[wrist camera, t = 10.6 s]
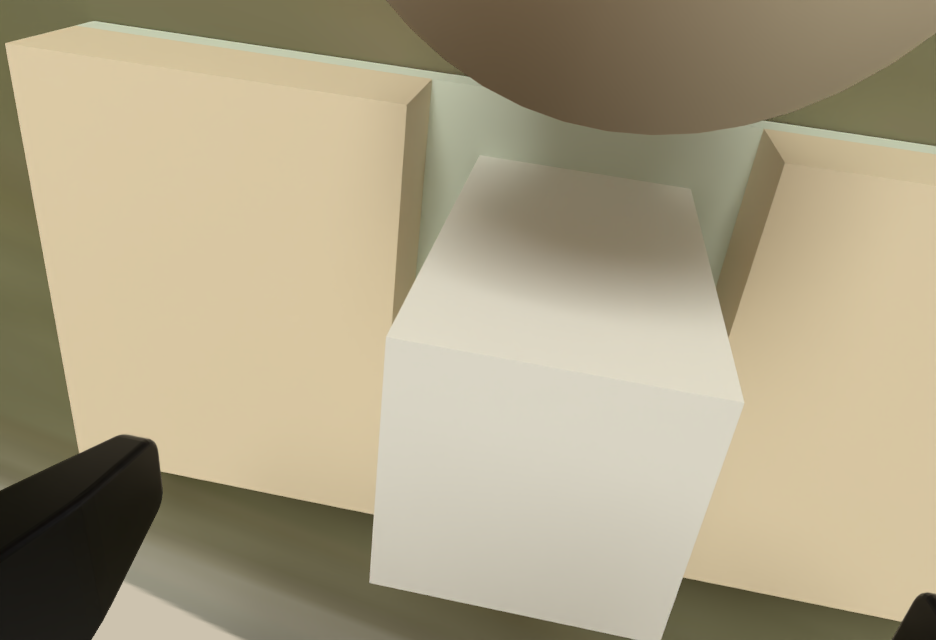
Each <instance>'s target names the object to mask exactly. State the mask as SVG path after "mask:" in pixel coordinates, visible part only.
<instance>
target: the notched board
mask: <svg viewBox="0 0 936 640" xmlns="http://www.w3.org/2000/svg"><path fill="white" fill-rule="evenodd" d="M5 46H6V51H7V57H8V62H9V68H10V73H11V79H12V84H13V90H14V95H15V101H16V106H17V112H18V117H19V123H20V129H21V134H22V140H23V145H24V151H25V156H26V162H27V167H28V173H29V178H30V184H31V189H32V195H33V200H34V206H35V211H36V217H37V222H38V228H39V233H40V239H41V244H42V250H43V255H44V261H45V267H46V272H47V278H48V283H49V289H50V294H51V300H52V305H53V311H54V316H55V322H56V327H57V333H58V338H59V344H60V349H61V355H62V360H63V366H64V371H65V377H66V382H67V388H68V393H69V399H70V404H71V410H72V416H73V421H74V427H75V432H76V438H77V443H78V449H79V453H81V452H83V451H85V450H87V449H89V448H92V447H94V446H96V445H98V444H100V443H102V442H104V441H106V440H109V439H111V438H113V437H115V436H118V435H121V434H128V435H133V436H138V437H143V438H148V439H151V440H153V441H154V442H155V443H156V445H157V448H158V453H159V461H160V470H161V472H166V473H171V474H176V475H181V476H186V477H191V478H196V479H201V480H206V481H211V482H216V483H221V484H225V485H230V486H235V487H240V488H245V489H250V490H255V491H260V492H265V493H270V494H275V495H280V496H285V497H290V498H294V499H299V500H304V501H309V502H314V503H319V504H324V505H329V506H334V507H339V508H344V509H349V510H354V511H359V512H363V513H368V514H373V515H374V507H375V492H376V477H377V462H378V447H379V432H380V417H381V402H382V387H383V372H384V358H385V343H386V336H387V334H388V332H389V330H390V328H391V326H392V324H393V322H394V320H395V318H396V316H397V315H398V313H399V311H400V309H401V307H402V305H403V303H404V301H405V299H406V297H407V295H408V293H409V291H410V289H411V287H412V285H413V283H414V282H415V280H416V278H417V276H418V274H419V272H420V270H421V268H422V266H423V264H424V262H425V260H426V258H427V256H428V254H429V252H430V251H431V249H432V247H433V245H434V243H435V241H436V239H437V237H438V235H439V233H440V231H441V229H442V227H443V225H444V223H445V221H446V219H447V218H448V216H449V214H450V212H451V210H452V208H453V206H454V204H455V202H456V200H457V198H458V196H459V194H460V192H461V190H462V188H463V186H464V185H465V183H466V181H467V179H468V177H469V175H470V173H471V171H472V169H473V167H474V165H475V163H476V161H477V159H478V157H479V155H483V156H489V157H495V158H501V159H508V160H514V161H520V162H526V163H533V164H539V165H545V166H551V167H558V168H564V169H570V170H576V171H583V172H589V173H595V174H601V175H608V176H614V177H620V178H626V179H633V180H639V181H645V182H651V183H658V184H664V185H670V186H676V187H683V188H689V189H691V192H692V196H693V199H694V203H695V207H696V211H697V215H698V219H699V223H700V227H701V231H702V235H703V239H704V243H705V247H706V251H707V255H708V259H709V263H710V267H711V271H712V275H713V279H714V283H715V287H716V291H717V295H718V299H719V303H720V307H721V311H722V315H723V319H724V323H725V327H726V331H727V335H728V339H729V343H730V347H731V351H732V355H733V359H734V363H735V367H736V371H737V375H738V379H739V383H740V387H741V391H742V395H743V399H744V406H743V409H742V412H741V414H740V417H739V420H738V423H737V426H736V428H735V431H734V434H733V437H732V440H731V443H730V445H729V448H728V451H727V454H726V457H725V460H724V462H723V465H722V468H721V471H720V474H719V477H718V479H717V482H716V485H715V488H714V491H713V493H712V496H711V499H710V502H709V505H708V508H707V510H706V513H705V516H704V519H703V522H702V525H701V527H700V530H699V533H698V536H697V539H696V542H695V544H694V547H693V550H692V553H691V556H690V558H689V561H688V564H687V567H686V570H685V573H684V575H683V577H684V578H689V579H694V580H699V581H704V582H708V583H713V584H718V585H723V586H728V587H733V588H738V589H743V590H748V591H753V592H758V593H763V594H768V595H772V596H777V597H782V598H787V599H792V600H797V601H802V602H807V603H812V604H817V605H822V606H827V607H832V608H837V609H841V610H846V611H851V612H856V613H861V614H866V615H871V616H876V617H881V618H886V619H891V620H896V621H901V622H902V620H903V619H904V617H905V615H906V613H907V611H908V610H909V608H910V606H911V604H912V603H913V601H914V600H915V598H916V597H917V596H918V595H920V594H921V593H925V592H930V593H935V594H936V146H931V145H924V144H917V143H910V142H904V141H897V140H890V139H884V138H877V137H870V136H863V135H857V134H850V133H843V132H836V131H830V130H823V129H816V128H810V127H803V126H796V125H789V124H783V123H776V122H769V121H759V122H756V123H752V124H749V125H745V126H739V127H733V128H727V129H721V130H715V131H709V132H703V133H692V134H667V135H645V134H633V133H622V132H610V131H604V130H599V129H595V128H590V127H586V126H581V125H576V124H572V123H567V122H563V121H560V120H558V119H555V118H552V117H549V116H547V115H544V114H541V113H538V112H536V111H533V110H530V109H527V108H525V107H522V106H520V105H518V104H516V103H514V102H512V101H510V100H508V99H506V98H505V97H503V96H501V95H499V94H497V93H495V92H493V91H491V90H489V89H487V88H485V87H483V86H482V85H480V84H479V83H477V82H476V81H475V80H473V79H472V78H470V77H467V76H460V75H453V74H446V73H440V72H433V71H426V70H420V69H413V68H406V67H399V66H393V65H386V64H379V63H372V62H366V61H359V60H352V59H346V58H339V57H332V56H325V55H319V54H312V53H305V52H298V51H292V50H285V49H278V48H272V47H265V46H258V45H251V44H245V43H238V42H231V41H225V40H218V39H211V38H204V37H198V36H191V35H184V34H177V33H171V32H164V31H157V30H151V29H144V28H137V27H130V26H124V25H117V24H110V23H103V22H97V21H92V22H88V23H84V24H80V25H76V26H72V27H68V28H64V29H60V30H56V31H52V32H48V33H44V34H40V35H36V36H32V37H28V38H24V39H20V40H16V41H12V42H8V43H5Z"/></svg>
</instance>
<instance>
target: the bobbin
mask: <svg viewBox="0 0 936 640" xmlns="http://www.w3.org/2000/svg"><path fill="white" fill-rule="evenodd" d="M386 1H387V2H388V3H389V4H390V5H391V6H392V8H393V9H394V10H395V11H396V12H397V13H398V15H399V16H400V17H401V18H402V19H403V20H404V22H405V23H406V24H407V25H408V26H409V27H410V28H411V29H412V30H413V31H414V32H415V33H416V34H417V35H418V36H419V37H420V38H421V39H423V40H424V41H425V42H426V43H427V44H428V45H429V46H430V47H431V48H432V49H434V50H435V51H436V52H437V53H438V54H439V55H440V56H441V57H442V58H444V59H445V60H446V61H447V62H449V63H450V64H452V65H453V66H454V67H456V68H457V69H459V70H460V71H462V72H463V73H464V74H466V75H467V76H469V77H470V78H472V79H473V80H475V81H476V82H477V83H479V84H480V85H482V86H483V87H485V88H487V89H489V90H491V91H493V92H495V93H497V94H499V95H501V96H503V97H505V98H506V99H508V100H510V101H512V102H514V103H516V104H518V105H520V106H522V107H525V108H527V109H530V110H533V111H536V112H538V113H541V114H544V115H547V116H549V117H552V118H555V119H558V120H560V121H563V122H567V123H572V124H576V125H581V126H586V127H590V128H595V129H599V130H604V131H610V132H622V133H633V134H645V135H667V134H692V133H703V132H709V131H715V130H721V129H727V128H733V127H739V126H745V125H749V124H752V123H756V122H759V121H763V120H766V119H770V118H773V117H777V116H780V115H783V114H787V113H790V112H794V111H796V110H799V109H801V108H803V107H806V106H808V105H811V104H813V103H815V102H818V101H820V100H823V99H825V98H827V97H830V96H832V95H835V94H837V93H839V92H842V91H844V90H846V89H847V88H849V87H851V86H853V85H855V84H856V83H858V82H860V81H862V80H864V79H865V78H867V77H869V76H871V75H873V74H874V73H876V72H878V71H880V70H882V69H883V68H885V67H887V66H889V65H891V64H892V63H894V62H895V61H897V60H898V59H899V58H901V57H902V56H904V55H905V54H907V53H908V52H909V51H911V50H912V49H914V48H915V47H916V46H918V45H919V44H921V43H922V42H924V41H925V40H926V39H928V38H929V37H931V36H932V35H934V34H935V33H936V0H386Z"/></svg>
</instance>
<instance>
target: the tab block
mask: <svg viewBox="0 0 936 640" xmlns="http://www.w3.org/2000/svg"><path fill="white" fill-rule="evenodd" d="M743 406H744V399H743V395H742V391H741V387H740V383H739V379H738V375H737V371H736V367H735V363H734V359H733V355H732V351H731V347H730V343H729V339H728V335H727V331H726V327H725V323H724V319H723V315H722V311H721V307H720V303H719V299H718V295H717V291H716V287H715V283H714V279H713V275H712V271H711V267H710V263H709V259H708V255H707V251H706V247H705V243H704V239H703V235H702V231H701V227H700V223H699V219H698V215H697V211H696V207H695V203H694V199H693V196H692V192H691V189H689V188H683V187H676V186H670V185H664V184H658V183H651V182H645V181H639V180H633V179H626V178H620V177H614V176H608V175H601V174H595V173H589V172H583V171H576V170H570V169H564V168H558V167H551V166H545V165H539V164H533V163H526V162H520V161H514V160H508V159H501V158H495V157H489V156H483V155H479V157H478V159H477V161H476V163H475V165H474V167H473V169H472V171H471V173H470V175H469V177H468V179H467V181H466V183H465V185H464V186H463V188H462V190H461V192H460V194H459V196H458V198H457V200H456V202H455V204H454V206H453V208H452V210H451V212H450V214H449V216H448V218H447V219H446V221H445V223H444V225H443V227H442V229H441V231H440V233H439V235H438V237H437V239H436V241H435V243H434V245H433V247H432V249H431V251H430V252H429V254H428V256H427V258H426V260H425V262H424V264H423V266H422V268H421V270H420V272H419V274H418V276H417V278H416V280H415V282H414V283H413V285H412V287H411V289H410V291H409V293H408V295H407V297H406V299H405V301H404V303H403V305H402V307H401V309H400V311H399V313H398V315H397V316H396V318H395V320H394V322H393V324H392V326H391V328H390V330H389V332H388V334H387V336H386V343H385V358H384V372H383V387H382V402H381V417H380V432H379V447H378V462H377V477H376V492H375V507H374V521H373V536H372V551H371V566H370V581H369V583H372V584H377V585H382V586H386V587H391V588H396V589H401V590H405V591H410V592H415V593H419V594H424V595H429V596H433V597H438V598H443V599H448V600H452V601H457V602H462V603H466V604H471V605H476V606H480V607H485V608H490V609H494V610H499V611H504V612H509V613H513V614H518V615H523V616H527V617H532V618H537V619H541V620H546V621H551V622H556V623H560V624H565V625H570V626H574V627H579V628H584V629H588V630H593V631H598V632H603V633H607V634H612V635H617V636H621V637H626V638H631V639H635V640H661V638H662V635H663V632H664V629H665V626H666V624H667V621H668V618H669V615H670V612H671V609H672V607H673V604H674V601H675V598H676V595H677V592H678V590H679V587H680V584H681V581H682V578H683V575H684V573H685V570H686V567H687V564H688V561H689V558H690V556H691V553H692V550H693V547H694V544H695V542H696V539H697V536H698V533H699V530H700V527H701V525H702V522H703V519H704V516H705V513H706V510H707V508H708V505H709V502H710V499H711V496H712V493H713V491H714V488H715V485H716V482H717V479H718V477H719V474H720V471H721V468H722V465H723V462H724V460H725V457H726V454H727V451H728V448H729V445H730V443H731V440H732V437H733V434H734V431H735V428H736V426H737V423H738V420H739V417H740V414H741V412H742V409H743Z"/></svg>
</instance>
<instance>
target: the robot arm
mask: <svg viewBox="0 0 936 640" xmlns="http://www.w3.org/2000/svg"><path fill="white" fill-rule="evenodd" d="M162 494H163V487H162V479H161V470H160V461H159V453H158V448H157V445H156V443H155V442H154V441H153V440H151V439H148V438H143V437H138V436H133V435H128V434H121V435H118V436H115V437H113V438H111V439H109V440H106V441H104V442H102V443H100V444H98V445H96V446H94V447H92V448H89V449H87V450H85V451H83V452H81V453H79V454H77V455H75V456H73V457H70V458H68V459H66V460H64V461H62V462H60V463H58V464H56V465H53V466H51V467H49V468H47V469H45V470H43V471H41V472H39V473H37V474H34V475H32V476H30V477H28V478H26V479H24V480H22V481H20V482H18V483H15V484H13V485H11V486H9V487H7V488H5V489H3V490H1V491H0V640H91V639H92V638H93V636H94V635H95V633H96V631H97V630H98V628H99V626H100V625H101V623H102V621H103V620H104V618H105V616H106V614H107V612H108V610H109V608H110V606H111V605H112V603H113V601H114V598H115V597H116V595H117V592H118V591H119V589H120V587H121V585H122V583H123V581H124V579H125V576H126V574H127V572H128V570H129V568H130V566H131V564H132V562H133V560H134V558H135V556H136V554H137V552H138V550H139V548H140V546H141V544H142V542H143V540H144V538H145V536H146V534H147V532H148V530H149V528H150V526H151V524H152V522H153V520H154V518H155V516H156V514H157V512H158V510H159V507H160V504H161V501H162ZM892 640H936V594H935V593H930V592H925V593H921V594H920V595H918V596H917V597H916V598H915V600H914V601H913V603H912V604H911V606H910V608H909V610H908V611H907V613H906V615H905V617H904V619H903V620H902V622H901V624H900V626H899V627H898V629H897V631H896V633H895V634H894V636H893V638H892Z"/></svg>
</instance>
